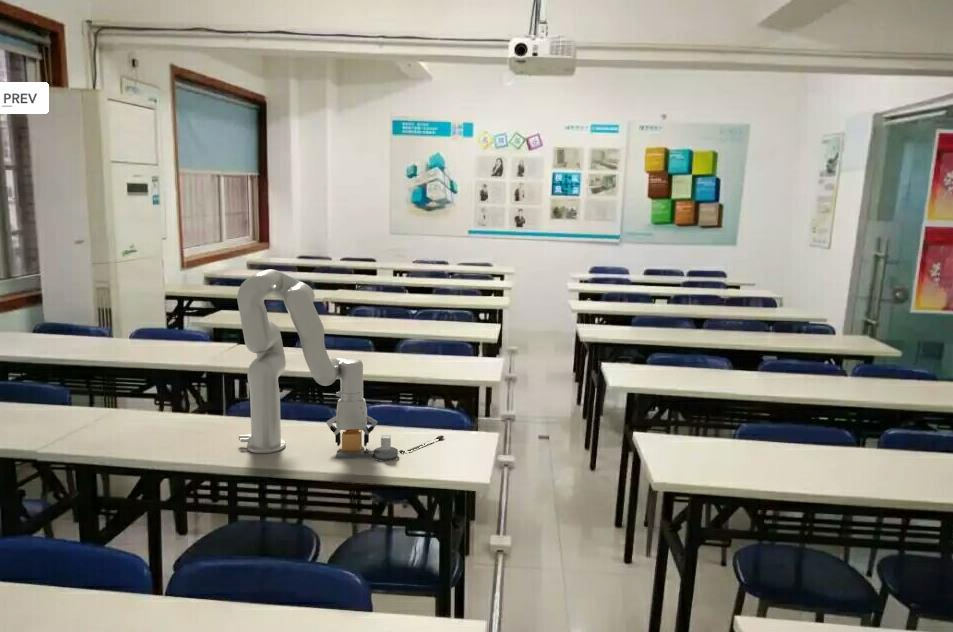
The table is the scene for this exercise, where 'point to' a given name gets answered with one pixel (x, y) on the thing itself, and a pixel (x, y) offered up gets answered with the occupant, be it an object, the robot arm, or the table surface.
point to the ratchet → (379, 453)
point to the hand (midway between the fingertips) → (352, 444)
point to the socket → (351, 439)
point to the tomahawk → (421, 445)
